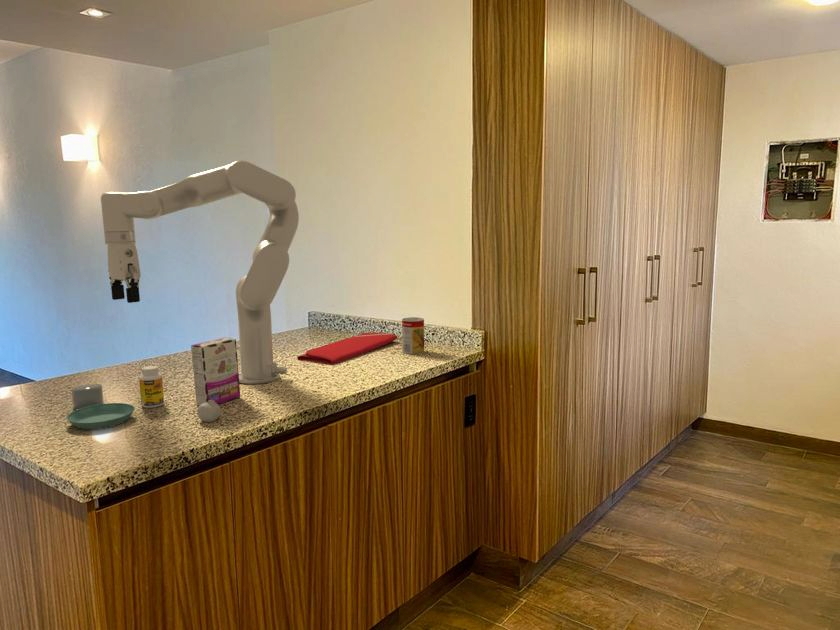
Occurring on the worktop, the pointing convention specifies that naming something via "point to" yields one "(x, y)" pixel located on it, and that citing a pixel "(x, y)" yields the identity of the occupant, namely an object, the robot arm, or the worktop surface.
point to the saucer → (100, 415)
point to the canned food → (413, 335)
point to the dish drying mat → (347, 348)
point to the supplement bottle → (151, 387)
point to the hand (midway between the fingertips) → (126, 300)
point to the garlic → (208, 411)
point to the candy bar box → (216, 371)
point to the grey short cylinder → (87, 395)
